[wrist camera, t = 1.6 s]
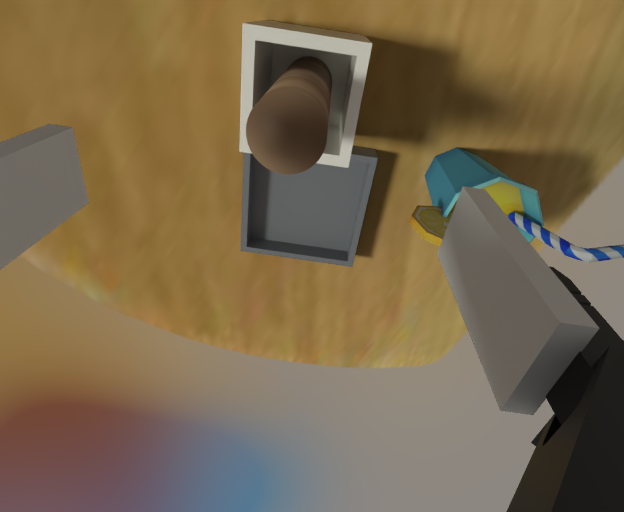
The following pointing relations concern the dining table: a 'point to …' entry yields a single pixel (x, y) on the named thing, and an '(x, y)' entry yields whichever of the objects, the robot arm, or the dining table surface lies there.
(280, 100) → the dowel
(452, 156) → the cup
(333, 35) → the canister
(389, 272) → the dining table surface
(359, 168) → the tray
